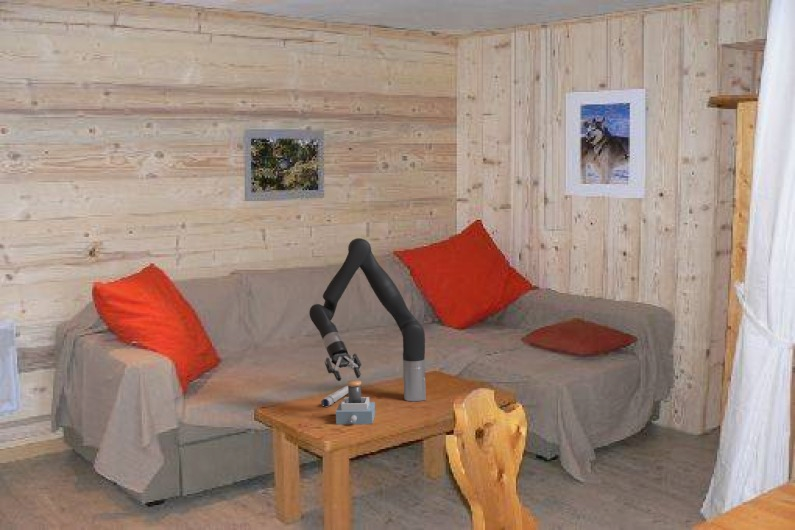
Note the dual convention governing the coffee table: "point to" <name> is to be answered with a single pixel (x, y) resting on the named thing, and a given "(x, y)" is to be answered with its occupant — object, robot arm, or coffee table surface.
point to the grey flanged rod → (334, 396)
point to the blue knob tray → (355, 412)
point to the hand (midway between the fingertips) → (349, 378)
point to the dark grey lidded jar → (354, 391)
